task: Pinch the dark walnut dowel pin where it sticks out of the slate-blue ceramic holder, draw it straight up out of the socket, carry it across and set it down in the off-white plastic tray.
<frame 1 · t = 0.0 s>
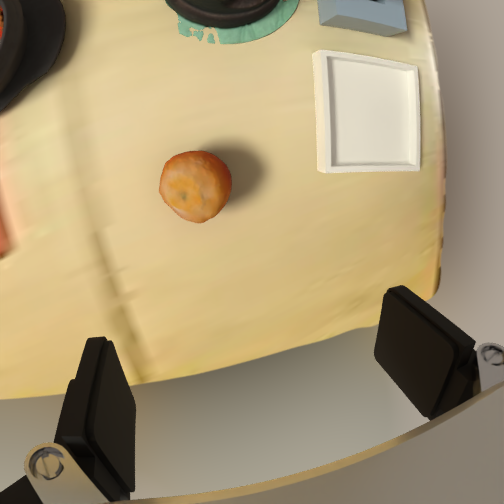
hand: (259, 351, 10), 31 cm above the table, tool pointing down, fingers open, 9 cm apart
tray: (367, 113, 40), on the table
fruit: (194, 180, 38), on the table
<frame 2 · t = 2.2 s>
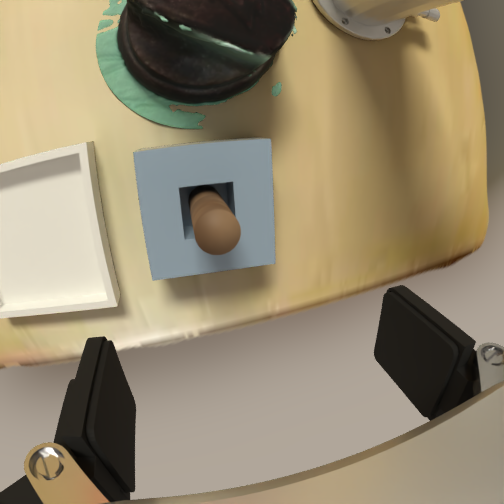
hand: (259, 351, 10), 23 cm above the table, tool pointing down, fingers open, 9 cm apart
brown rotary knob: (200, 31, 25), on the table
tray: (36, 234, 28), on the table
holder: (203, 198, 31), on the table
pin: (204, 200, 30), point 1 cm above the table, touching holder
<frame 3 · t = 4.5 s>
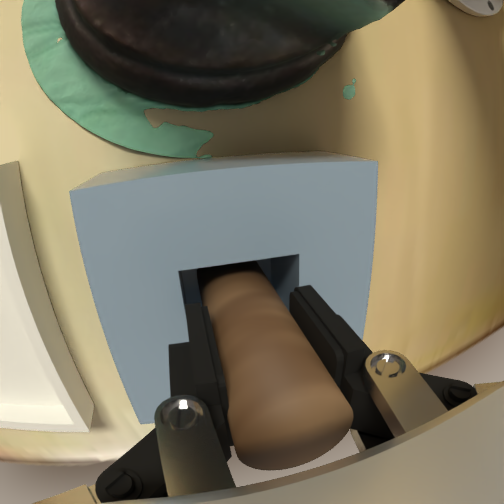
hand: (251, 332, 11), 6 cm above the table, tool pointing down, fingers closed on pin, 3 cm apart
holder: (224, 264, 17), on the table
pin: (227, 272, 16), point 1 cm above the table, touching gripper, holder
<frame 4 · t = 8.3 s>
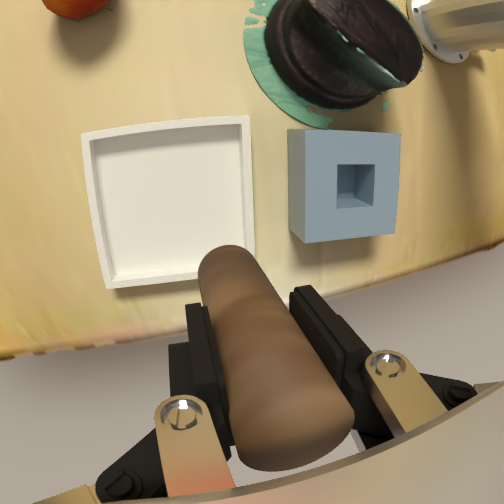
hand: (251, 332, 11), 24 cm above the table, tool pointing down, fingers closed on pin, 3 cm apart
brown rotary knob: (330, 46, 30), on the table
tray: (170, 199, 32), on the table
holder: (334, 178, 35), on the table
pin: (228, 273, 16), point 19 cm above the table, touching gripper
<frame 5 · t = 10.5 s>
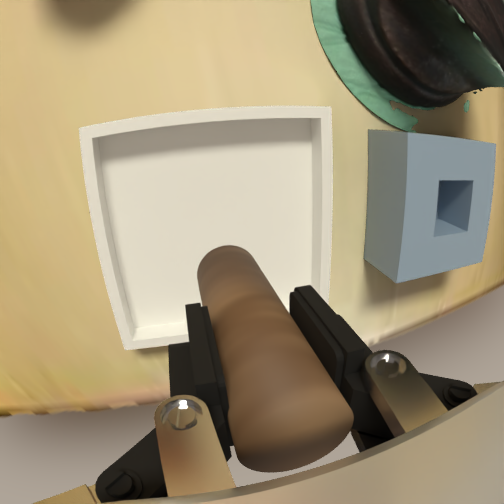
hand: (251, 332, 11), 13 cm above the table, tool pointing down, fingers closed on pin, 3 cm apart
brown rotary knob: (409, 29, 21), on the table
tray: (213, 224, 23), on the table
holder: (416, 193, 26), on the table
pin: (227, 274, 16), point 8 cm above the table, touching gripper
when the fingers open (8 cm above the table, at t = 12.2 s): pin drops 2 cm, resting on tray.
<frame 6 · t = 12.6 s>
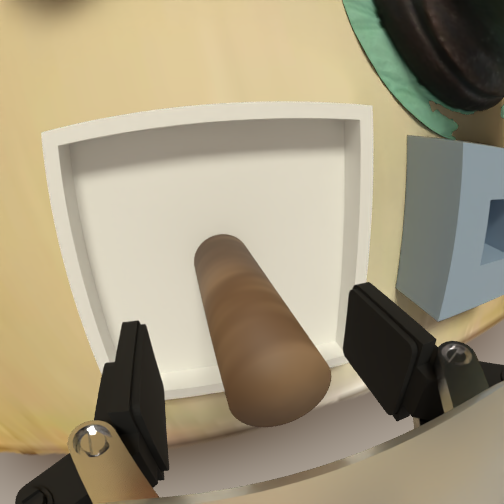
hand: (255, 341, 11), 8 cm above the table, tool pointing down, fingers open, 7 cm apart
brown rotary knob: (446, 20, 16), on the table
tray: (220, 254, 18), on the table
holder: (454, 210, 21), on the table
pin: (221, 260, 17), point 1 cm above the table, touching tray
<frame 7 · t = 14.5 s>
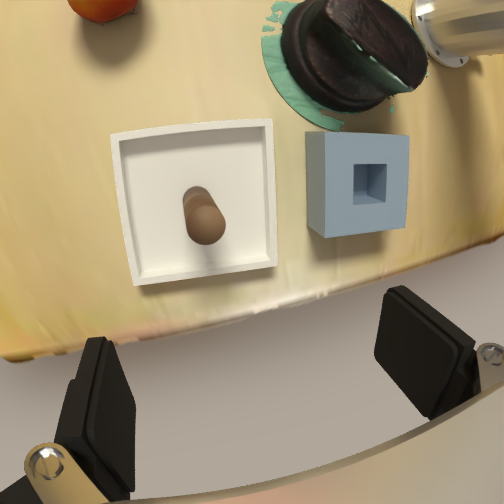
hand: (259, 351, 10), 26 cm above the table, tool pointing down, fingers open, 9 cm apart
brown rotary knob: (341, 53, 32), on the table
tray: (196, 198, 34), on the table
holder: (347, 177, 37), on the table
fruit: (112, 0, 24), on the table
pin: (196, 200, 33), point 1 cm above the table, touching tray
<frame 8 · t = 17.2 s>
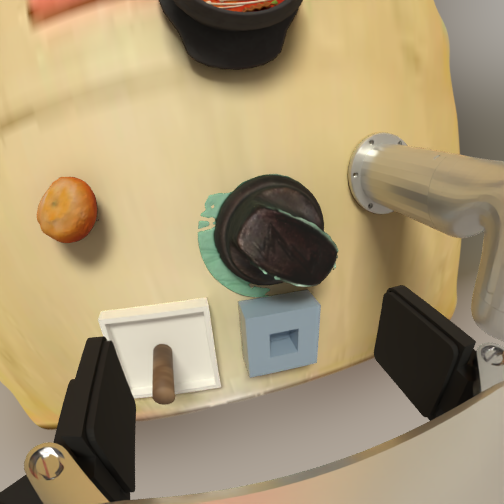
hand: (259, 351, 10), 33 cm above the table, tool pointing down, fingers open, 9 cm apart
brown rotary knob: (269, 231, 46), on the table
tray: (162, 348, 48), on the table
holder: (274, 325, 51), on the table
fruit: (76, 203, 38), on the table
pin: (162, 351, 47), point 1 cm above the table, touching tray
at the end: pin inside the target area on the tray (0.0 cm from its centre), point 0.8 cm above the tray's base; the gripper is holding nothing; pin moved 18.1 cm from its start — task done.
